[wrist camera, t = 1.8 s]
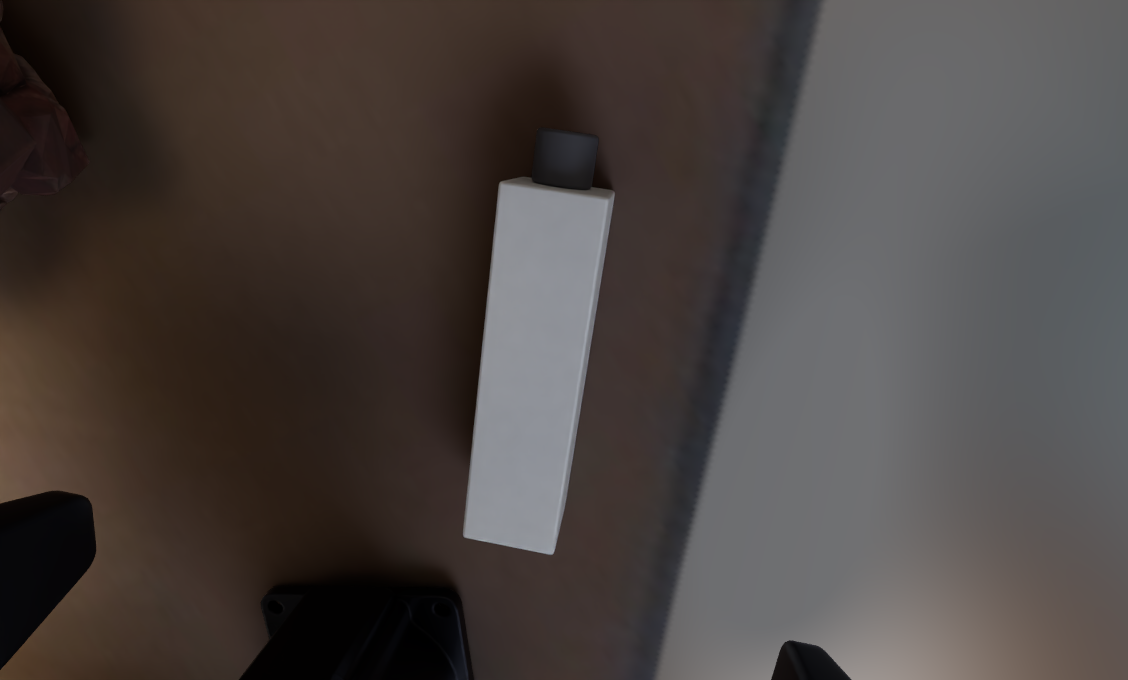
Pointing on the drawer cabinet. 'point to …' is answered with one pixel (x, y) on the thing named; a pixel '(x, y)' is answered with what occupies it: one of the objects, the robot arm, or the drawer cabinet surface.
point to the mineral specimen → (33, 132)
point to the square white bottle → (536, 343)
